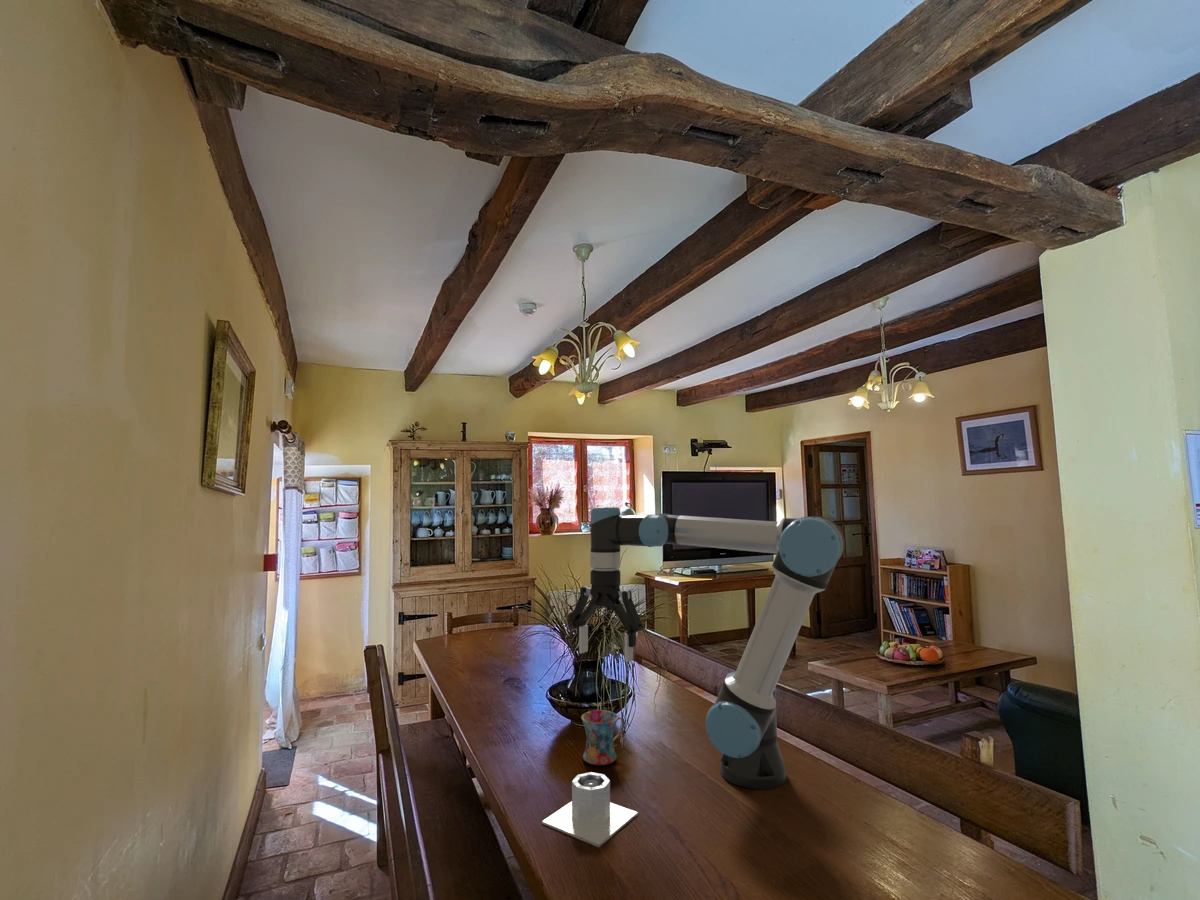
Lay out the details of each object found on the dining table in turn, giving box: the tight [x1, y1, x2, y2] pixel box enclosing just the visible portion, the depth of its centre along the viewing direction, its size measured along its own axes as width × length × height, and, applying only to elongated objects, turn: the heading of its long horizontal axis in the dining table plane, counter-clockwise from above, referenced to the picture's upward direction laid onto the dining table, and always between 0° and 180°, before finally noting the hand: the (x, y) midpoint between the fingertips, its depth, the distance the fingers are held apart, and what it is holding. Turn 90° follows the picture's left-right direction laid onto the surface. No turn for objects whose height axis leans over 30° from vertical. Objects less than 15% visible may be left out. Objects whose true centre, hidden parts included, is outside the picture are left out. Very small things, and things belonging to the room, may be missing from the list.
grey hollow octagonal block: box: [571, 771, 611, 827], centre depth 119 cm, size 7×7×7 cm
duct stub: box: [542, 780, 639, 848], centre depth 119 cm, size 14×14×7 cm
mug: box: [581, 709, 626, 766], centre depth 147 cm, size 12×9×11 cm
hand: (605, 656), depth 143 cm, fingers open, 13 cm apart
